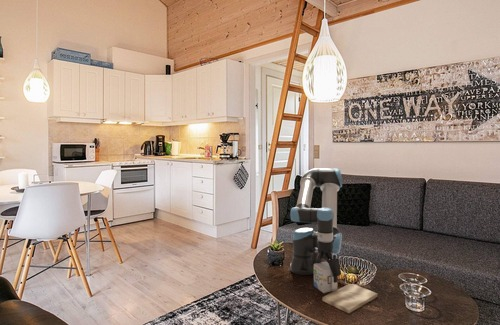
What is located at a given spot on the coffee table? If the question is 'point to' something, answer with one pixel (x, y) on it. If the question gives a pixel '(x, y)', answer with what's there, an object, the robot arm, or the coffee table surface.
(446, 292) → the coffee table surface
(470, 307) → the coffee table surface
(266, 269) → the coffee table surface
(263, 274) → the coffee table surface
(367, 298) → the board
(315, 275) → the ink box
